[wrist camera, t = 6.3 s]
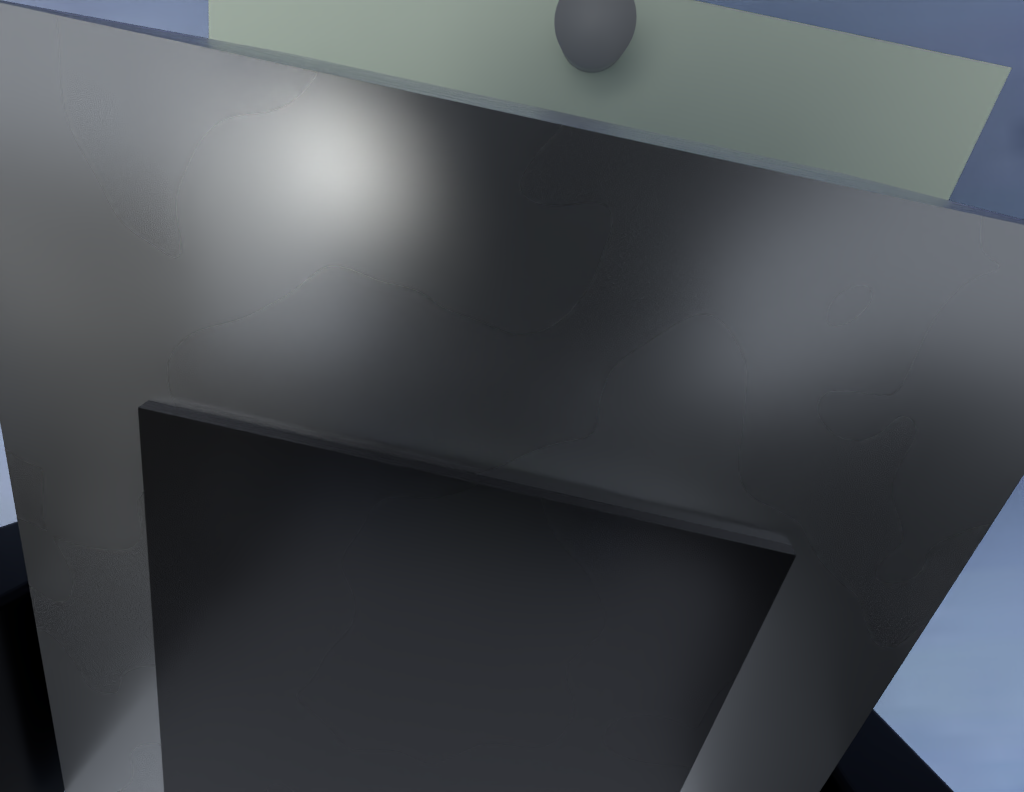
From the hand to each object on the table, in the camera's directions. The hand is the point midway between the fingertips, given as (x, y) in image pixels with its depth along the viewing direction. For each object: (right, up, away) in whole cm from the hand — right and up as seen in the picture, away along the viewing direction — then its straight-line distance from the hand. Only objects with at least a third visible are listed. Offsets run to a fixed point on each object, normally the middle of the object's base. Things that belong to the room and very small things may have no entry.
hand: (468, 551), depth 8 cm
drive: (0, 0, +1) cm, 1 cm away
